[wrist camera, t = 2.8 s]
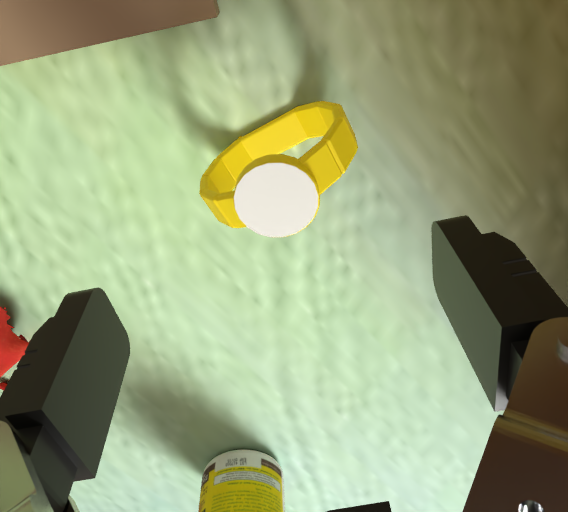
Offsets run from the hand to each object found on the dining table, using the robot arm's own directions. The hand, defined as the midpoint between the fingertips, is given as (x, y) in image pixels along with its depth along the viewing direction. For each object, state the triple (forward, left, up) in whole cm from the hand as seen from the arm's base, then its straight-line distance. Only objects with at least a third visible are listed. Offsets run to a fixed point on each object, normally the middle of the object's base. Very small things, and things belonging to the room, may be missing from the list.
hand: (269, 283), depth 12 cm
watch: (0, 0, -10) cm, 10 cm away
